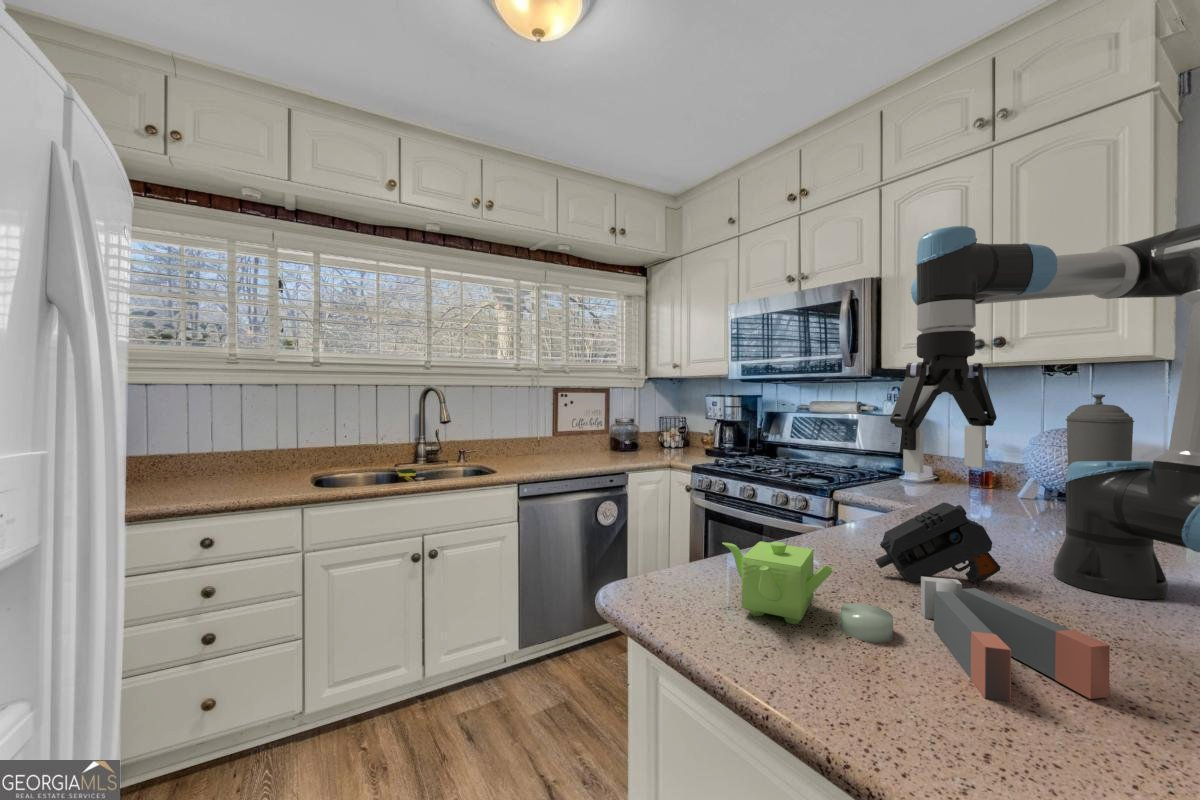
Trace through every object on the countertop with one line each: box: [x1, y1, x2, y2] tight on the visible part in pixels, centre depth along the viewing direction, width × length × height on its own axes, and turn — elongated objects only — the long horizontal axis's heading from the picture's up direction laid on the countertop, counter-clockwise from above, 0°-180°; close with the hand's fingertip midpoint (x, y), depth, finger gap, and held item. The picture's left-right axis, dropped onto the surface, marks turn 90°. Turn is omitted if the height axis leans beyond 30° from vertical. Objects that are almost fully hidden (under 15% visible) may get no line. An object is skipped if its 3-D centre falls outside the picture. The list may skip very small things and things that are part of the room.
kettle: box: [721, 541, 835, 625], centre depth 85 cm, size 15×14×11 cm
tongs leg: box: [961, 587, 1111, 700], centre depth 69 cm, size 18×3×6 cm, turn 9°
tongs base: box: [920, 576, 1012, 703], centre depth 72 cm, size 24×5×7 cm, turn 164°
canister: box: [1065, 393, 1135, 467], centre depth 133 cm, size 13×13×35 cm
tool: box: [874, 501, 1001, 586], centre depth 99 cm, size 6×19×15 cm, turn 78°
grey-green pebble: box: [840, 602, 894, 644], centre depth 78 cm, size 7×7×3 cm
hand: (944, 469), depth 80 cm, fingers open, 13 cm apart
